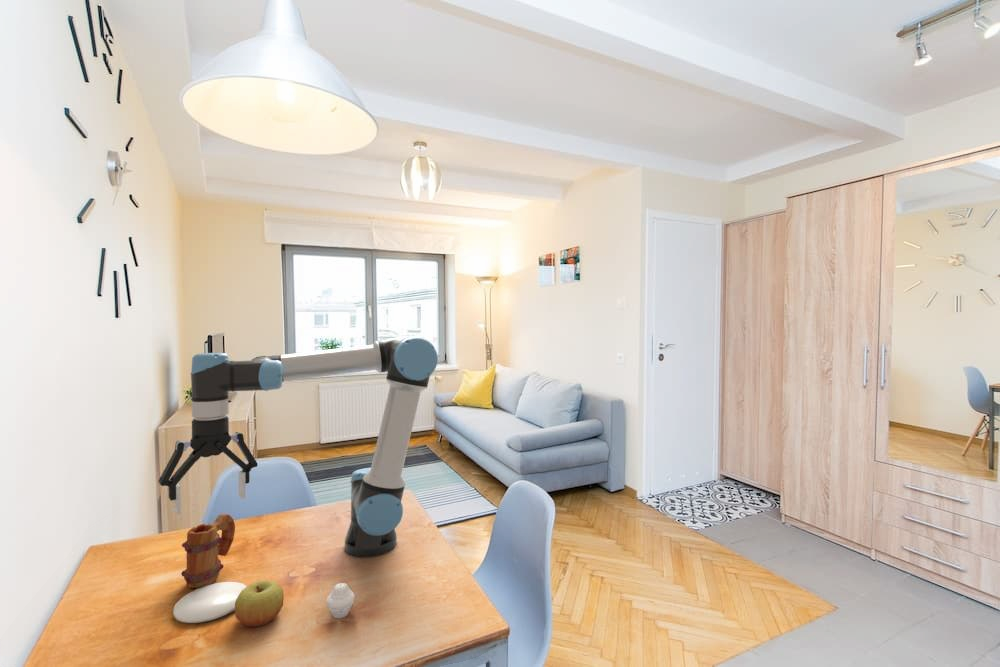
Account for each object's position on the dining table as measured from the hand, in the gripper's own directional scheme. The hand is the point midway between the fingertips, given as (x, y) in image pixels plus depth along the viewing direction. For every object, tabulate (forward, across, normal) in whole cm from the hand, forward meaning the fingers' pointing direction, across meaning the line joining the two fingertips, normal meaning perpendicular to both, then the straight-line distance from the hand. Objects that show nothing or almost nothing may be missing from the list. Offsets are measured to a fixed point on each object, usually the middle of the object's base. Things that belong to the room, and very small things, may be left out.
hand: (211, 504), depth 111 cm
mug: (+23, -2, -10) cm, 25 cm away
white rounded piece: (+23, -19, +28) cm, 41 cm away
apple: (+23, -5, +17) cm, 29 cm away
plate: (+23, +1, +3) cm, 23 cm away
